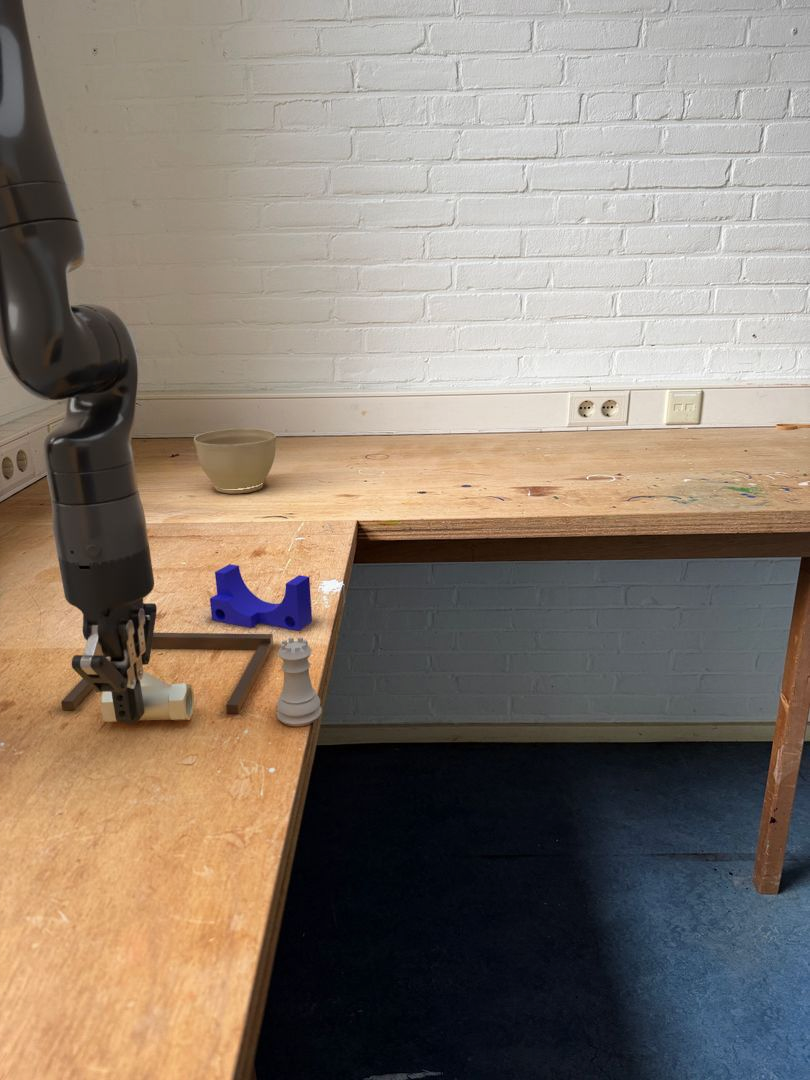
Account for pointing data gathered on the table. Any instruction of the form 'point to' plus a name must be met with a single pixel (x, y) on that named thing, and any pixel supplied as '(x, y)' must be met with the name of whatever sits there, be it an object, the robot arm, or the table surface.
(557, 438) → the table surface
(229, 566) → the blue saddle bracket
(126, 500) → the robot arm
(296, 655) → the rook chess piece
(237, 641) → the frame
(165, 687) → the pipe fitting
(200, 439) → the planter bowl
